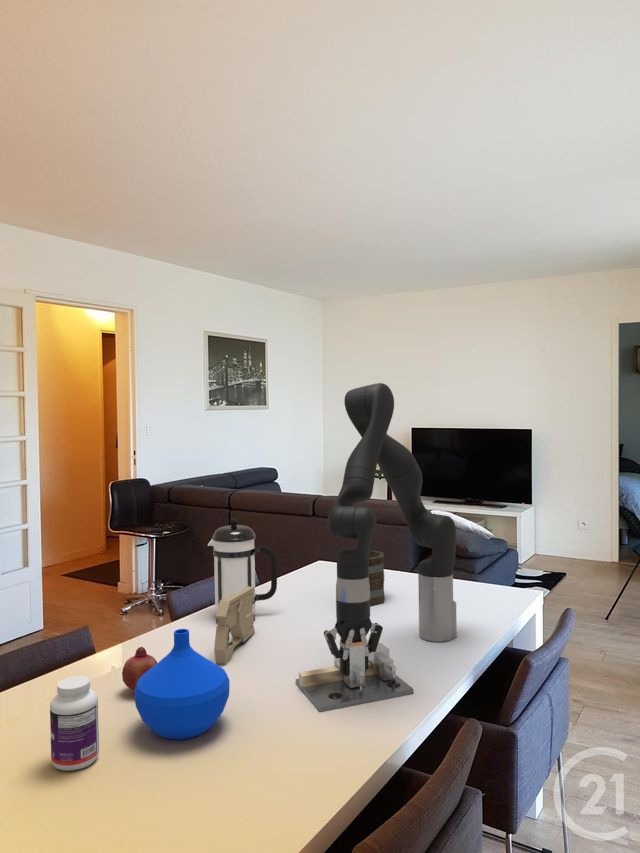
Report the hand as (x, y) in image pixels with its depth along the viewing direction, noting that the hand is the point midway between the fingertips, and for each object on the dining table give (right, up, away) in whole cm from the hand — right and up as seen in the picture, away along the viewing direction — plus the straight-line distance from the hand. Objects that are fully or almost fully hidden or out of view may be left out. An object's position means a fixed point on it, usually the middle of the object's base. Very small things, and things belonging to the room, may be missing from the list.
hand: (354, 672), depth 144 cm
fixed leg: (+7, -2, +4) cm, 8 cm away
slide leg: (0, -2, +1) cm, 3 cm away
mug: (+5, -2, +64) cm, 64 cm away
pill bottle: (-51, -6, -28) cm, 59 cm away
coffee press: (-32, -3, +52) cm, 61 cm away
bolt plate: (0, -4, +1) cm, 4 cm away
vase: (-34, -5, -16) cm, 38 cm away
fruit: (-47, -5, +1) cm, 48 cm away
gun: (-30, -4, +27) cm, 40 cm away
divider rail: (-2, -3, +4) cm, 5 cm away
